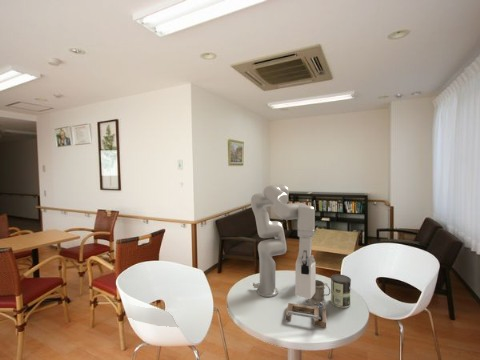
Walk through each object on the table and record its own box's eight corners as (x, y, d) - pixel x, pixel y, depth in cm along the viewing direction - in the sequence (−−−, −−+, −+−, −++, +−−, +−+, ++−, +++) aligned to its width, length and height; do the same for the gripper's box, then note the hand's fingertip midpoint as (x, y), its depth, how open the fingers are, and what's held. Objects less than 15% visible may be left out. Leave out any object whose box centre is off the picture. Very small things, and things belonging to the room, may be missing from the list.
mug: (303, 298, 146) (304, 277, 146) (316, 293, 151) (316, 274, 151) (323, 310, 134) (323, 288, 133) (336, 305, 139) (336, 283, 138)
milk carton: (310, 299, 113) (310, 258, 112) (295, 295, 117) (295, 255, 116) (315, 293, 119) (315, 253, 118) (300, 289, 123) (301, 250, 122)
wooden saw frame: (285, 320, 125) (285, 315, 125) (288, 307, 137) (288, 302, 137) (326, 327, 120) (326, 322, 120) (325, 313, 131) (325, 308, 131)
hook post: (318, 323, 119) (318, 305, 119) (318, 318, 123) (318, 301, 122) (322, 323, 119) (322, 306, 118) (322, 318, 122) (322, 301, 122)
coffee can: (348, 298, 145) (348, 274, 144) (352, 309, 135) (352, 283, 134) (329, 297, 147) (329, 273, 146) (331, 306, 137) (332, 281, 136)
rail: (286, 320, 125) (286, 311, 125) (287, 319, 126) (287, 310, 126) (320, 326, 121) (320, 317, 120) (320, 325, 122) (320, 316, 121)
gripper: (299, 227, 126) (299, 262, 127) (295, 237, 109) (295, 276, 110) (315, 228, 123) (315, 264, 124) (313, 238, 107) (313, 279, 108)
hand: (305, 269), depth 117 cm, fingers closed on milk carton, 8 cm apart
